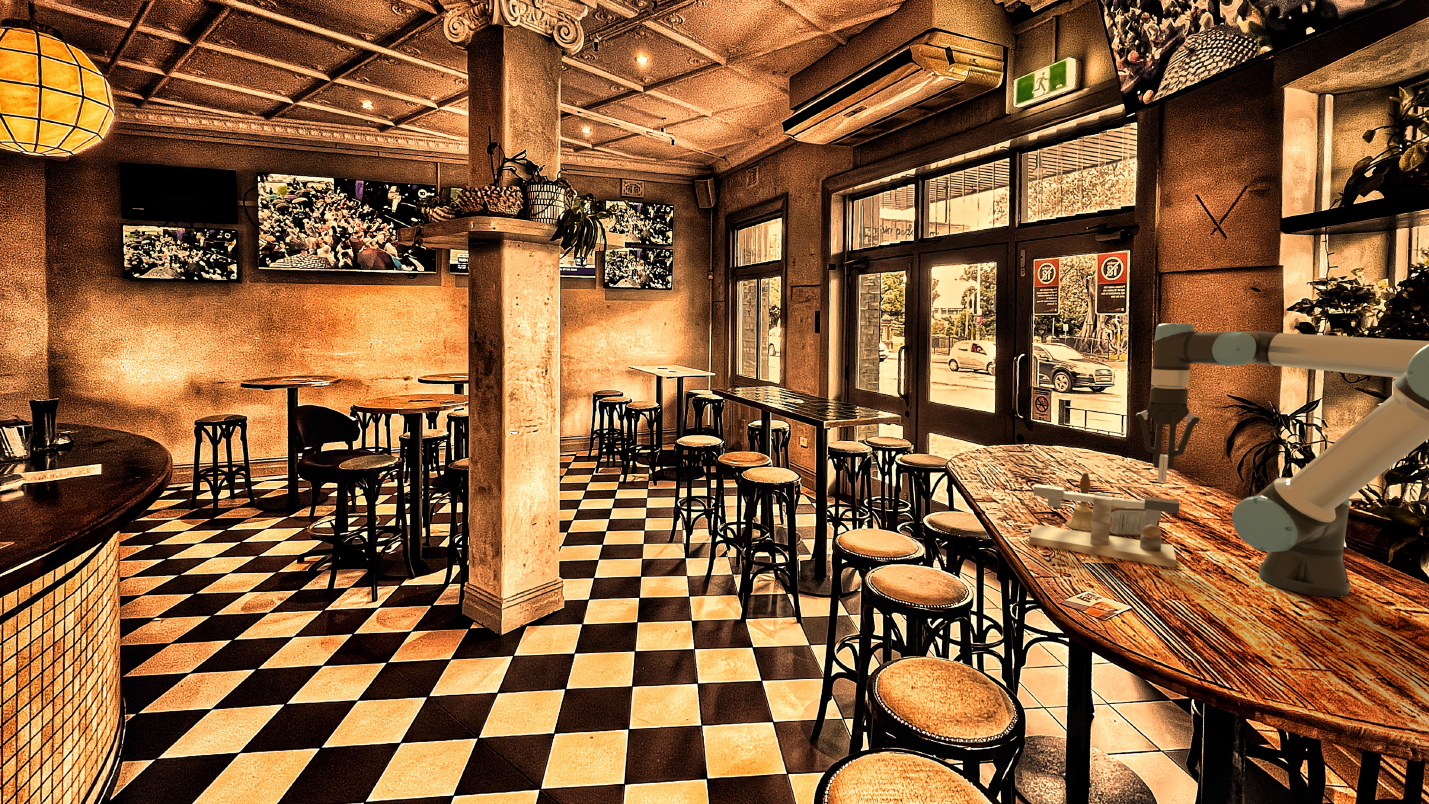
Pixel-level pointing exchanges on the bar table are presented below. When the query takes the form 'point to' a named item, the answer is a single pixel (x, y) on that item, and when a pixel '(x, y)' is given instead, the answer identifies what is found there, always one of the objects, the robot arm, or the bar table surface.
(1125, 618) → the bar table surface
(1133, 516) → the tin
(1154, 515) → the lever
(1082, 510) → the hand bell
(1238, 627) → the bar table surface
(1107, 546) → the press base
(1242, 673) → the bar table surface
